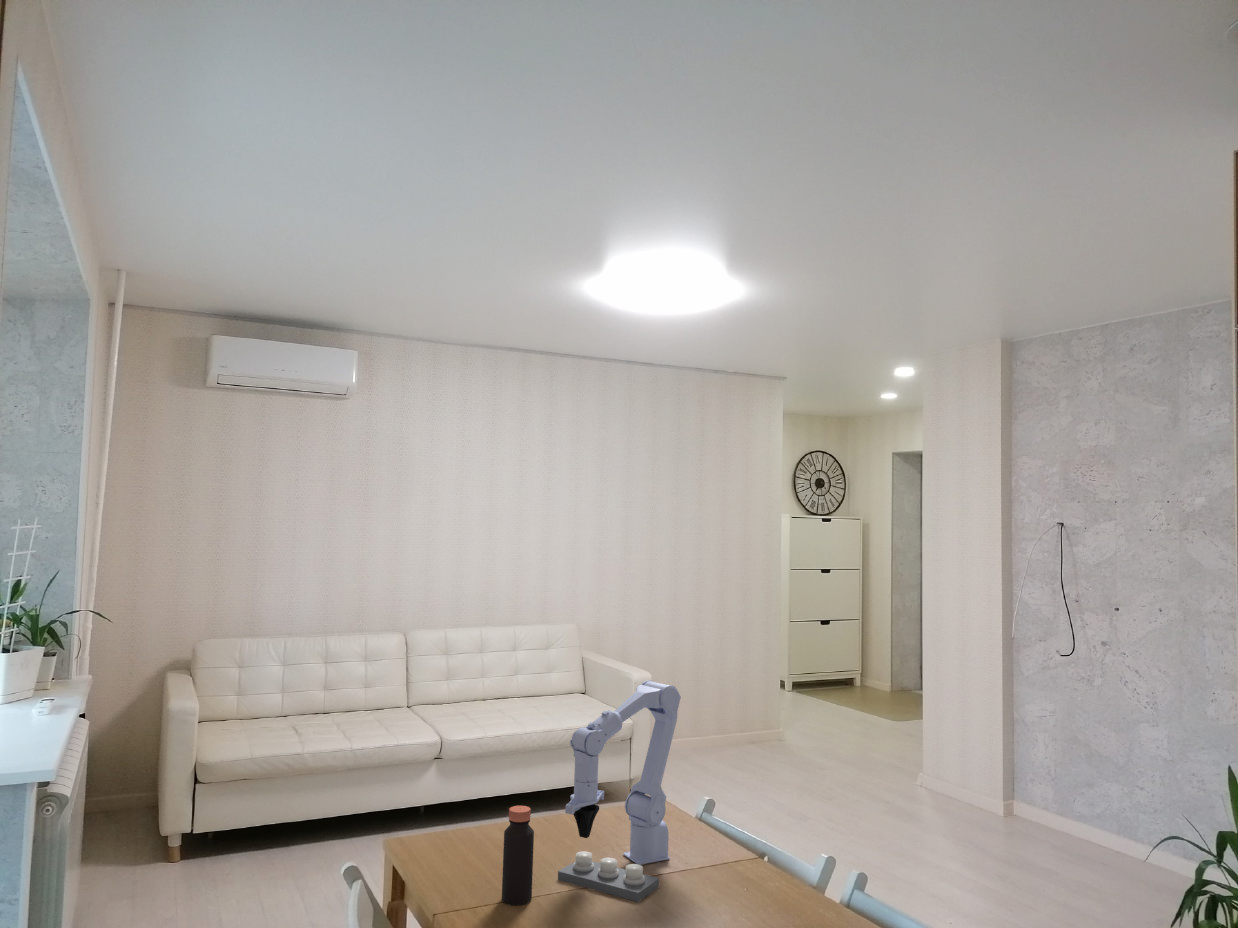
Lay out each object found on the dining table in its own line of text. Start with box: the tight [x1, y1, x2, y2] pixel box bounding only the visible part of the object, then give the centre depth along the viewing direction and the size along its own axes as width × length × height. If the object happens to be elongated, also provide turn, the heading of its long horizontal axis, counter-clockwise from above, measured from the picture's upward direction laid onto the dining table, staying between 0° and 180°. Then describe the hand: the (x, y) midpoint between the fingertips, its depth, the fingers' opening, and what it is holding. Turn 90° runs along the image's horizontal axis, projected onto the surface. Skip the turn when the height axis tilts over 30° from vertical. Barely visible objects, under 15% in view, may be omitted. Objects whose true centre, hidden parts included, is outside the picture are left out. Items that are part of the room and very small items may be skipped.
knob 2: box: [599, 857, 618, 873], centre depth 208 cm, size 4×4×2 cm
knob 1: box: [574, 850, 593, 866], centre depth 212 cm, size 4×4×2 cm
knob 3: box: [625, 863, 644, 880], centre depth 204 cm, size 4×4×2 cm
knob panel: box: [557, 860, 660, 903], centre depth 208 cm, size 22×10×3 cm, turn 60°
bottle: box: [501, 805, 535, 906], centre depth 198 cm, size 7×7×20 cm
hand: (584, 836), depth 212 cm, fingers closed
